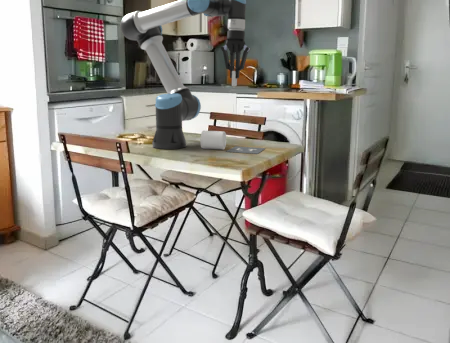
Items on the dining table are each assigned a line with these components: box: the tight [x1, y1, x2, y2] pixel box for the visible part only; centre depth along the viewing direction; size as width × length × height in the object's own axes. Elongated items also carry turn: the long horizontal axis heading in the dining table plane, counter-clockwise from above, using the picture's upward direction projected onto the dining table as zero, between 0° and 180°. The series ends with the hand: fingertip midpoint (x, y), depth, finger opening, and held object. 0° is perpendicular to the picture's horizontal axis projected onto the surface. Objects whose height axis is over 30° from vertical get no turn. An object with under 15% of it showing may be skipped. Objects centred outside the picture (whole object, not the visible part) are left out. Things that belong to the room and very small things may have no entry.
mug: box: [199, 130, 227, 150], centre depth 200 cm, size 12×10×8 cm
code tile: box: [225, 145, 266, 155], centre depth 196 cm, size 14×14×1 cm
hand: (234, 85), depth 198 cm, fingers closed
